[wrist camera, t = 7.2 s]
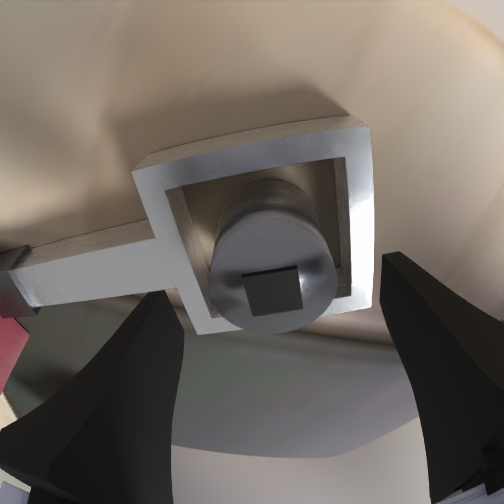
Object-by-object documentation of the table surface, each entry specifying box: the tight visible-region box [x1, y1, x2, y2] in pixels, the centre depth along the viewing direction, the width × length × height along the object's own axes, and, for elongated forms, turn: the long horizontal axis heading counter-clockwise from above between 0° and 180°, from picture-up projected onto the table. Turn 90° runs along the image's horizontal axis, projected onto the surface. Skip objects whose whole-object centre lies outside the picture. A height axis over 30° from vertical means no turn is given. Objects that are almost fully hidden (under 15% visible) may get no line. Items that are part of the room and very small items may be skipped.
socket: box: [208, 179, 338, 334], centre depth 13 cm, size 4×4×5 cm
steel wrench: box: [0, 115, 374, 335], centre depth 14 cm, size 21×8×2 cm, turn 101°
